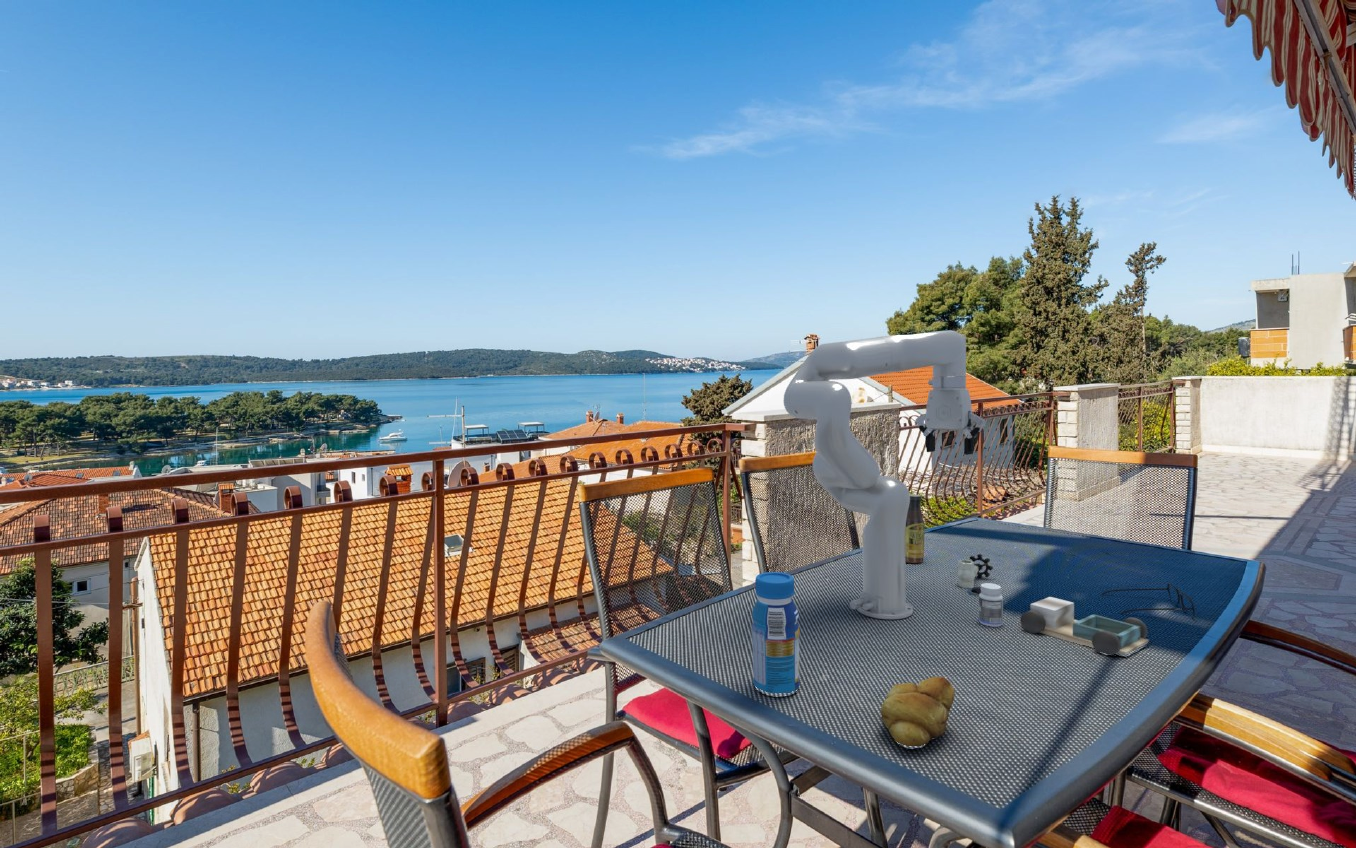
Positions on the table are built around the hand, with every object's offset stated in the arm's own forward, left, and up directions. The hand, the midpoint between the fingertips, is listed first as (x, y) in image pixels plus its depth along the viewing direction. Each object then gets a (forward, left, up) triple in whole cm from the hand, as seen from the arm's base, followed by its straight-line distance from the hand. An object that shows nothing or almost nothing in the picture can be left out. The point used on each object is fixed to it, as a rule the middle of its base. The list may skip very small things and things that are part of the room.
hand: (949, 452), depth 160 cm
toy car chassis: (-3, -33, -35) cm, 48 cm away
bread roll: (-62, -36, -36) cm, 80 cm away
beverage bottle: (-69, -13, -36) cm, 79 cm away
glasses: (+26, -33, -36) cm, 55 cm away
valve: (+12, +1, -36) cm, 38 cm away
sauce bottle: (+17, +23, -36) cm, 46 cm away
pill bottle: (-11, -18, -36) cm, 41 cm away
